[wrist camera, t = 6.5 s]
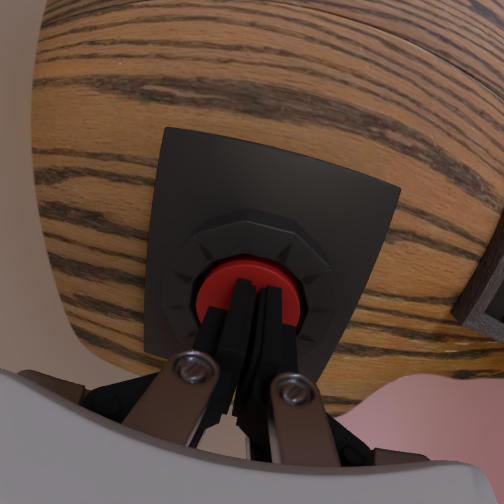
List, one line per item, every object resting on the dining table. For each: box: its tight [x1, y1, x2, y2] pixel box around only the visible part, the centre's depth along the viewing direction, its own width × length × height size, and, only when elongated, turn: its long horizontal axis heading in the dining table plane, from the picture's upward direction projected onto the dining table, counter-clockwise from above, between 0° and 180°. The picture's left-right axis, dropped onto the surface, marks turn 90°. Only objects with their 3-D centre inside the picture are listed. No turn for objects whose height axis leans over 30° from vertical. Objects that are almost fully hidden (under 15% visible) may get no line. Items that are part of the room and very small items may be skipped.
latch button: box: [196, 253, 300, 327], centre depth 11 cm, size 4×4×2 cm
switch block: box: [144, 127, 401, 384], centre depth 13 cm, size 12×10×4 cm
